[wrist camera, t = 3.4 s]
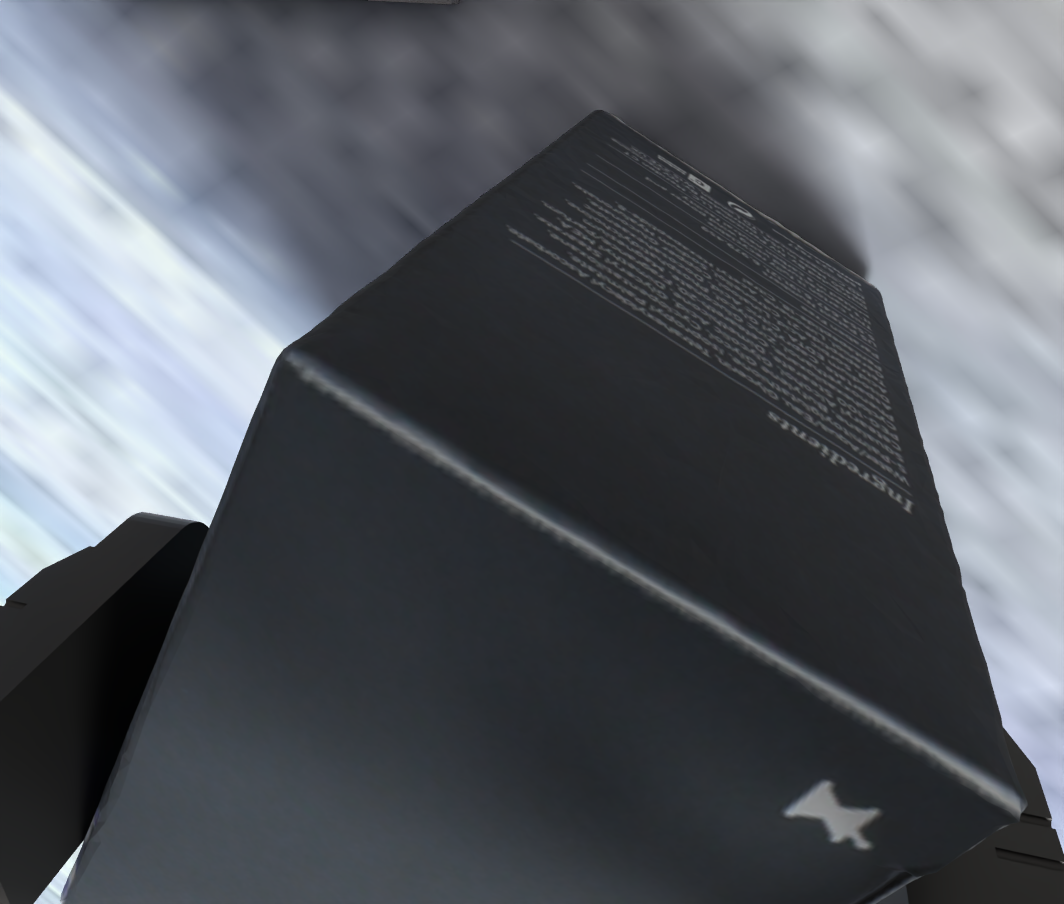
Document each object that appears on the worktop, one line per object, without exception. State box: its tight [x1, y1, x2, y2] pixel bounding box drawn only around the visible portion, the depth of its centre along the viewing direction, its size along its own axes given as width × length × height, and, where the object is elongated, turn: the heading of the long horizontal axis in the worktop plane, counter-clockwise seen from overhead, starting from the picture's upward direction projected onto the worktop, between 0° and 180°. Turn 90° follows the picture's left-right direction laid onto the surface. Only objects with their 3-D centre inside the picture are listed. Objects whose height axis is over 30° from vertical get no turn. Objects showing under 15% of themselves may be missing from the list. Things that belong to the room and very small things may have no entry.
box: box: [60, 110, 1028, 904], centre depth 12 cm, size 8×6×11 cm
